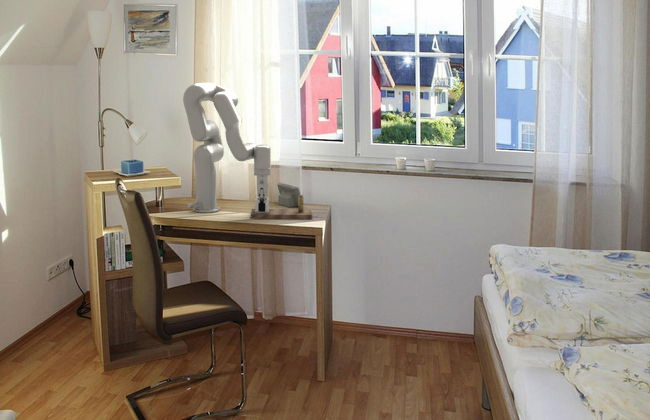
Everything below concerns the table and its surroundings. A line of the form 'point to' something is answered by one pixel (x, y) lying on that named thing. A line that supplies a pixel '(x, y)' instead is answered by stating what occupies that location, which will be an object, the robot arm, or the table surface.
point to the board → (285, 212)
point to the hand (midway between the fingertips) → (262, 209)
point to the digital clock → (288, 194)
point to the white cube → (265, 205)
